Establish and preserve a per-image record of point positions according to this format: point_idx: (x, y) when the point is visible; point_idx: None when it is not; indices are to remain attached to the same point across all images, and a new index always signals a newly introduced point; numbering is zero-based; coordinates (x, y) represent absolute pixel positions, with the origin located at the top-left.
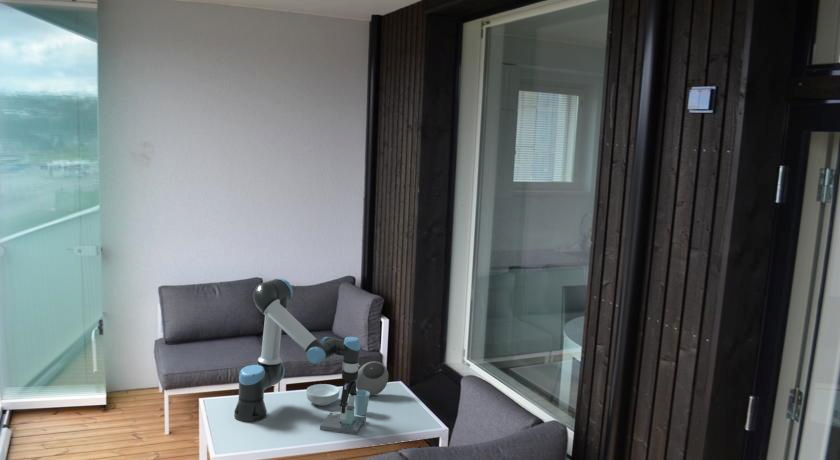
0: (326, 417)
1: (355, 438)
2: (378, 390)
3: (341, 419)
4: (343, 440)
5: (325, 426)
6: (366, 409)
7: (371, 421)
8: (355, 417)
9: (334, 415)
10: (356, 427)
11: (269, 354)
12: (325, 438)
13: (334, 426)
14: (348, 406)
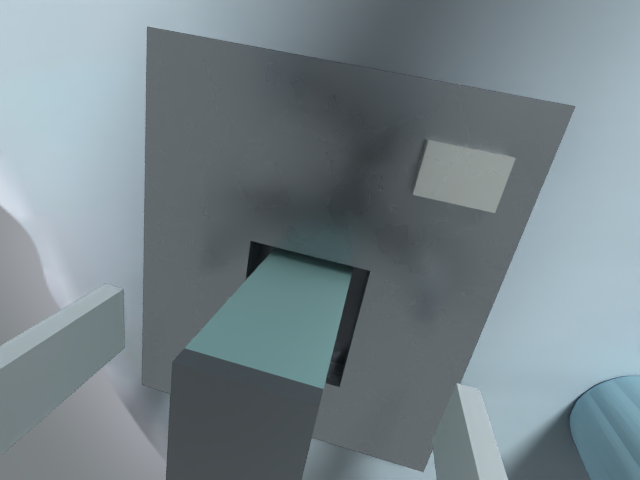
0: (389, 74)
1: None
2: None
3: (250, 275)
4: (51, 271)
5: (148, 100)
6: None
7: (423, 474)
8: (416, 389)
9: (417, 179)
10: None
11: None
12: (28, 128)
13: (165, 198)
14: (262, 457)
